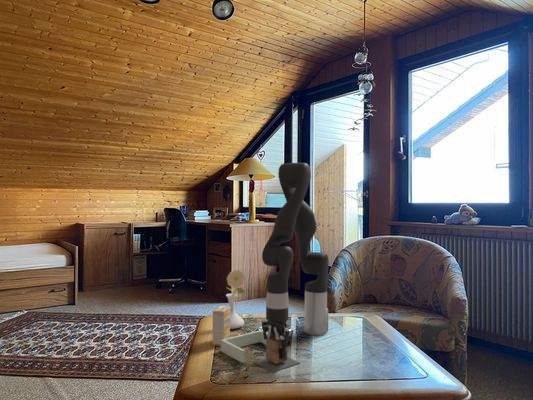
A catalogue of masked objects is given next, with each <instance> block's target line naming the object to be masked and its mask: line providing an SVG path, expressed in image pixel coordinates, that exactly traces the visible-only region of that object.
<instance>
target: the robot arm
mask: <svg viewBox="0 0 533 400" xmlns="http://www.w3.org/2000/svg"><path fill="white" fill-rule="evenodd" d="M311 172H312V171H311V167H310V166H309V163H306V162H286V163H282V164H281V165H280V166H279V168H278V174H277V175H278V181H279V183H280V187H281V190H282V192H283V196H284V198H285V201H286V202H285V204H284V205H283V206H282V207H281V208H280V210H278V212H277V215H276V217H275V221H274V225H273V229H272V232H271V235H270V236H269V238H268V240H267V242H266V244H265V245H264V247H263V250H262V253H261V259H262V263H264V265H266V266H268V267H275V268H276V267H279V271H278V272H274V273H270V274H268V275H267V277H266V278H267V279H266V297H265V319H266V320H264V321H261V327H262V331H263V336H264V339H265V340H266V338H271V337H275V336H276V339H277V341H279V359H284V358H285V357H286V347H287V348H290V347H291V345H292V339H293V335H294V329H289V328H288V325H287V322H288V320H289V277H290V273H291V269H292V267H293V261H294V257H295V256H294V255H295V254H294V251H293V249H292V248H291V247H290V246H288V245H287V246H286V245H281V244H284V243H287V242H290V241H291V240H292V239H293V237H294V235H295V239H296V242H297V247H298V253H299V261H300V266H301V270H302V271H303V273H305V274H308V275H315V276H316V275H317V277H316V278H317V279H315V280H312V281H308V282H306V283H305V284H304V330H303V331H304V333H305V334H307V335H311V336H323V335H326V334H327V332H329V308H328V283H329V281H328V280H329V277H328V276H329V265H330V264H329V263H330V261H329V256H328V254H327V253H326V252H318V251H317V252H316V251H310V243H311V241H312V239H313V238H314V236H315V234H316V232H317V229H318V227H317V222H316V217H315V213H314V211H313V209H312V208H311V207H310V206H309V205H308V203H307V202H306V201H304V199H305V197H306V193H307V190H308V189H309V186H310V182H311V177H312V176H311V174H312V173H311ZM266 333H268V334H267V335H266ZM280 336H281V337H282V338H280ZM282 340H283V344H282Z"/></svg>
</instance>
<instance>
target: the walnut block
mask: <svg viewBox="0 0 533 400" xmlns="http://www.w3.org/2000/svg"><path fill="white" fill-rule="evenodd" d="M282 337H283V336H280V338H282ZM282 344H283V340H282ZM265 348H266V349H265V350H266V353H265V358H266V359H267V360H269V361H271V362H273V363H275V364H277V363H280V362H283V361H286V360H287V357H288V347H286V357H285V358H284V359H279V341H277V339H276V336H275V337H271V338H266V345H265Z"/></svg>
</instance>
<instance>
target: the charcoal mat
mask: <svg viewBox="0 0 533 400" xmlns="http://www.w3.org/2000/svg"><path fill="white" fill-rule="evenodd" d="M300 363H301V362H299V361H297V360H296V359H292V358H290V357H289V356H287V360H286V361H283V362H280V363H277V364H275V363H273V362H271V361H269V360H267V359H266V357H265V358H261V359H258V360H255V361H253V364H255V365H257V366H259V367H260V368H262V369H264V370H267V371H269V372H270V373H272V374H273V373H275V372H278V371H282V370H284V369H287V368H291V367H294V366H297V365H299V364H300Z"/></svg>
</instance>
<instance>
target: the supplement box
mask: <svg viewBox="0 0 533 400" xmlns="http://www.w3.org/2000/svg"><path fill="white" fill-rule="evenodd" d="M211 334H212V339H211V340H212V341H211V342H212V343H211V345H212V346H214V347H215V346H217V347H221V340H223V339H227V338H231V329H230V306H229V305H228V306H227V305H218V307H216V308H215V309H214V310H212V332H211Z"/></svg>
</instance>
